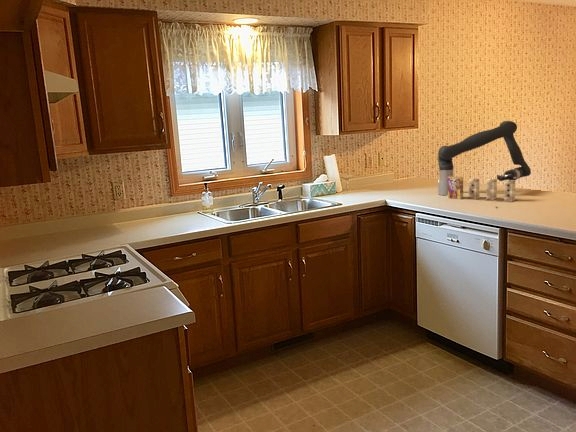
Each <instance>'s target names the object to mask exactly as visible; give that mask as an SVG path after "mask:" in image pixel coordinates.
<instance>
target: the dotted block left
mask: <svg viewBox="0 0 576 432" xmlns="http://www.w3.org/2000/svg"><path fill="white" fill-rule="evenodd" d="M468 196H469V198H472V199H477V198H479V197H480V178H473V177H472V178H470V179H468Z"/></svg>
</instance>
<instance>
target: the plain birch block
mask: <svg viewBox="0 0 576 432" xmlns="http://www.w3.org/2000/svg"><path fill="white" fill-rule="evenodd" d="M485 180H486V183H485V186H486V189H485V190H486V191H485V197H486V199H490V200H494V199H497V197H498V193H497V192H498V191H497V190H498V188H497V187H498V179H497V178H488V179H485Z"/></svg>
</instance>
